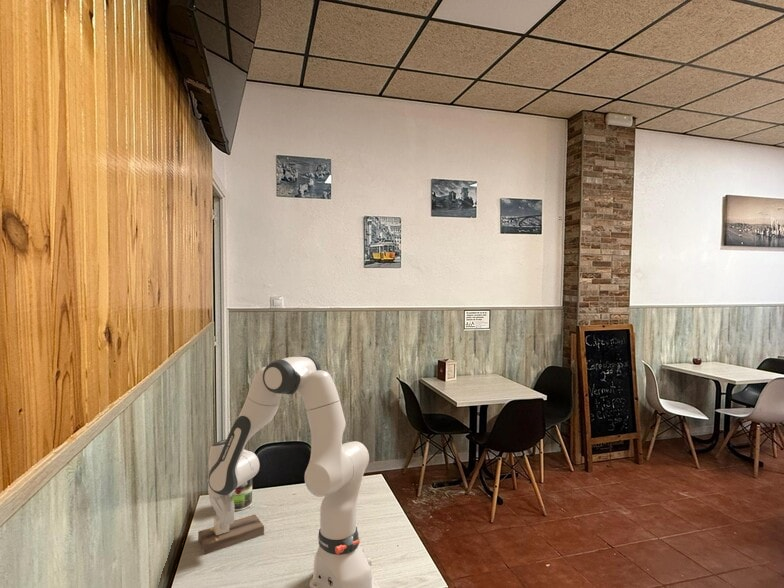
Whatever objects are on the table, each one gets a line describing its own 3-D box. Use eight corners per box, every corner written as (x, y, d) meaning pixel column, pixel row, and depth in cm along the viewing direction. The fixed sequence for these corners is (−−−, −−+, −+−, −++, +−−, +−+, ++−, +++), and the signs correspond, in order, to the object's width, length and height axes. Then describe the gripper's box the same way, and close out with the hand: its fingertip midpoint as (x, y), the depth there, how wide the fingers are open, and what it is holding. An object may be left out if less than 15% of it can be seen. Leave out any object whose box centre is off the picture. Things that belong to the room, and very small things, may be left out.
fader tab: (229, 531, 145) (229, 516, 145) (216, 535, 143) (216, 519, 143) (226, 526, 148) (226, 511, 148) (213, 530, 146) (213, 515, 146)
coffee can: (251, 509, 167) (252, 474, 167) (224, 512, 164) (224, 477, 164) (253, 497, 177) (253, 464, 177) (227, 500, 174) (227, 466, 174)
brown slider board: (263, 534, 149) (264, 525, 149) (204, 554, 137) (204, 544, 137) (255, 522, 157) (255, 513, 157) (198, 540, 145) (198, 531, 146)
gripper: (239, 495, 139) (239, 536, 139) (224, 474, 156) (223, 511, 155) (220, 500, 135) (219, 543, 135) (206, 478, 152) (205, 516, 152)
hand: (221, 525), depth 145 cm, fingers closed on fader tab, 3 cm apart
